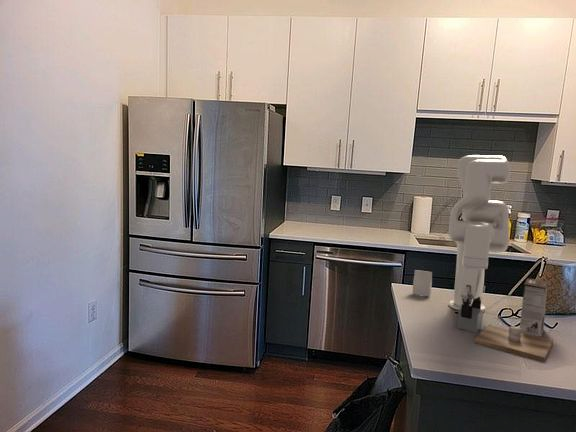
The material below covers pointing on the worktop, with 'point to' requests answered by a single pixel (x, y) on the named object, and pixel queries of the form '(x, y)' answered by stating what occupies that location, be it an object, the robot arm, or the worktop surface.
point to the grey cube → (471, 320)
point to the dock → (515, 342)
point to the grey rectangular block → (422, 283)
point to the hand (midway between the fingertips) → (470, 314)
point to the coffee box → (534, 307)
